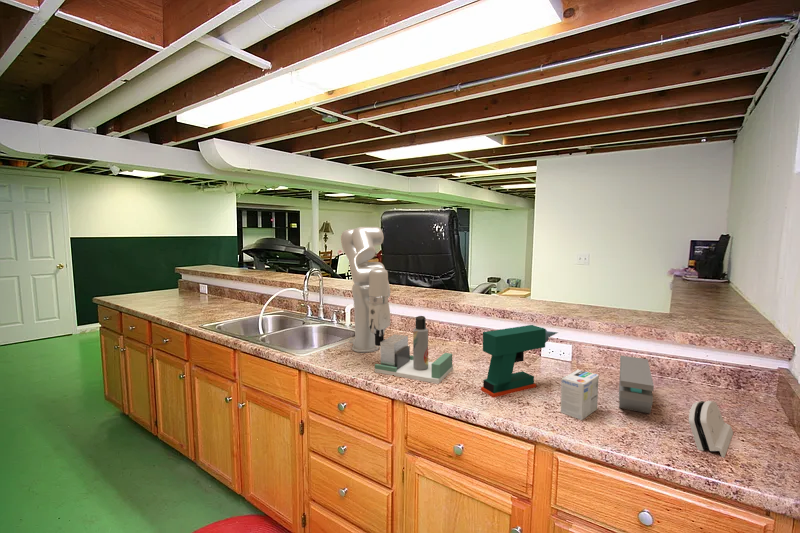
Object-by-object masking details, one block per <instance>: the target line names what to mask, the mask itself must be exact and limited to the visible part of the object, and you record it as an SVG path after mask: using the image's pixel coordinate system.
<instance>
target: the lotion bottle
mask: <svg viewBox="0 0 800 533" xmlns="http://www.w3.org/2000/svg"><path fill="white" fill-rule="evenodd" d="M426 320H427V319H426V317H425V316H424V315H418V316H415V328H413V330H412V342H413V344H412V348H413V349H412V350H413V351H412V352H413V353H412V354H413V355H412V356H413V366H414V369H416V370H426V369H428V362H429V329H428V328H427V327H426V326H427V325H426V324H427V323H426V322H427V321H426Z"/></svg>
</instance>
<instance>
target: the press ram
mask: <svg viewBox="0 0 800 533" xmlns="http://www.w3.org/2000/svg"><path fill="white" fill-rule="evenodd" d="M379 350H380V364H381V365H386V366H392V367H397V370H398V369H399V368H400V367H402V366H403V365H405V364H406V363H407V362H409V361H410V355H411V353H410V350H411V348H410V346H409V337H408V335H402V334H397V333H395V334H392V335H390V336H388V337H387V338H386V339H385V338H384V340H383V341H381V342H380V346H379Z"/></svg>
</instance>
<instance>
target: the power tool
mask: <svg viewBox="0 0 800 533" xmlns="http://www.w3.org/2000/svg"><path fill="white" fill-rule="evenodd" d="M556 334H559V332H557V331H551V330H550V331H549V330H547V329H546V328H545V327H541V326H537V325H534V324H527V325H522V326H521V325H520V326H515V327H509V328H503V329H501V328H500V329H495V330H487V331H482V352H484V353H487V354H489V355H491V358H490V362H489V366H488V372H487V375H486V376H487V377H486V379H483V380H482V381H483V382H482V383H483V386H481V387H480V391H481V392H484V393H485V394H487V395H488V396H490V397H491V398H497V397H503V396H506V395H510V394H515V393H518V392H522V391H526V390H531V389H534V388H537V384H536V383H535V376H534V375H532V374H530V373H527V372H525V371H523V370H522V371H518V372H514V367H515V363H520V362H524V357H525V356H524V354H525V352H527V351H532V350H538V349H544V348H546V343H547V342H548V341H549V339H550V338H551V337H552V336H555V335H556Z"/></svg>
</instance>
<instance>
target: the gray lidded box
mask: <svg viewBox="0 0 800 533" xmlns="http://www.w3.org/2000/svg"><path fill="white" fill-rule="evenodd" d="M619 360H620V361H619V363H620V364H619V365H620V366H619V383H618V384H619V385H618V388H619V389H618V405H619V406H618V408H619V409H624V410H630V411H634V412H639V413H645V414H651V411H652V407H653V403H654V402H653V400H654V394H653V392H654V387H655V385H654V381H653V376H652V372H651V368H650V363H649V359H648V358H641V357H633V356H627V355H620V357H619Z"/></svg>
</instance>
